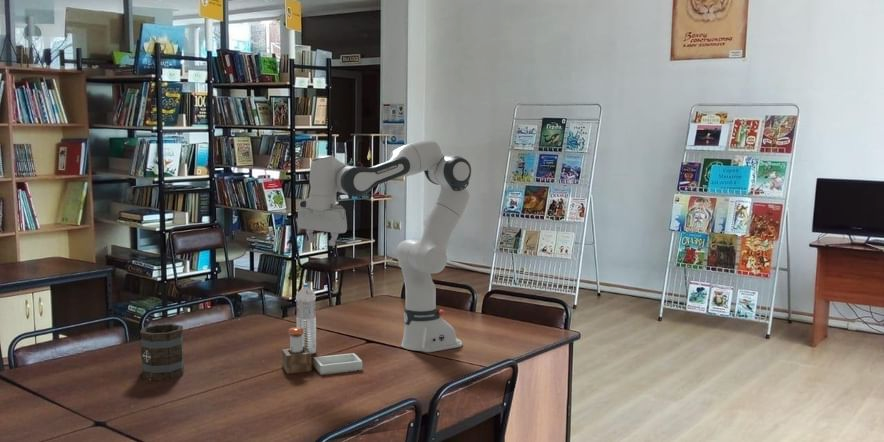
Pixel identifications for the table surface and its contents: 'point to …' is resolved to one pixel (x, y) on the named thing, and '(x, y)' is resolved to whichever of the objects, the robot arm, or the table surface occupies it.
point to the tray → (337, 363)
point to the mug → (162, 351)
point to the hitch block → (296, 361)
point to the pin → (296, 340)
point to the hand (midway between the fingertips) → (321, 244)
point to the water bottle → (307, 317)
